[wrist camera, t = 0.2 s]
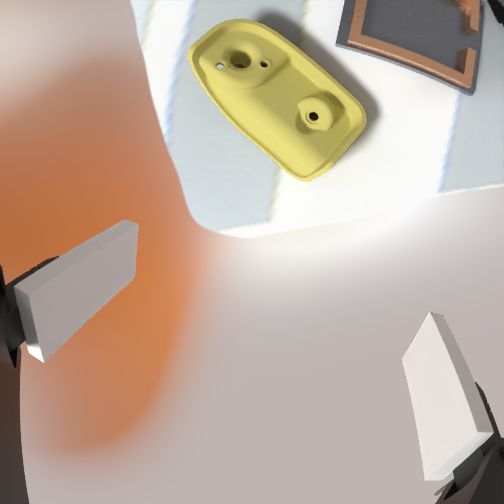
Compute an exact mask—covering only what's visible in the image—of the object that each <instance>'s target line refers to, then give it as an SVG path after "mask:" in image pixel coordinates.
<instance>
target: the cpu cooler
mask: <svg viewBox="0 0 504 504" xmlns="http://www.w3.org/2000/svg"><path fill="white" fill-rule="evenodd" d="M487 2H489V3H488V4H490V5H491V8H492V11H493V13H494V16H497V18H496V19H498V20H497V21H499V23H503V26H504V0H487Z"/></svg>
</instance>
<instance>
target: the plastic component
mask: <svg viewBox="0 0 504 504" xmlns="http://www.w3.org/2000/svg"><path fill="white" fill-rule="evenodd" d="M188 59H189V62H190V65H191V67H192V69H193V71H194V73H195V75H196V77H197V79H198V80H199V82H200V84H201V85H202V87H203V88H204V90H205V91H206V93H207V94H208V96H209V97H210V98H211V100H212V101H213V102H214V104H215V105H216V106H217V107H218V108H219V110H220V111H221V112H222V113H223V114H224V115H225V116H226V118H227V119H228V120H229V121H230V122H231V123H232V124H233V125H234V126H235V127H236V128H237V129H238V130H240V131H241V132H242V133H243V134H244V135H245V136H246V137H247V138H249V139H250V140H251V141H252V142H253V143H254V144H256V145H257V146H258V147H259V148H260V149H261V150H262V151H264V152H265V153H266V154H267V155H268V156H269V157H270V158H272V159H273V160H274V161H275V162H276V163H277V164H278V165H280V166H281V167H282V168H283V169H284V170H285V171H286V172H287V173H288V174H290V175H291V176H293V177H294V178H296V179H298V180H301V181H305V182H308V181H311V180H313V179H315V178H317V177H318V176H320V175H322V174H324V173H326V172H327V171H328V170H329V169H331V168H332V167H333V166H334V165H335V163H336V162H337V161H338V160H339V159H340V157H341V156H342V155H343V154H344V153H345V151H346V150H347V149H348V148H349V147H350V145H351V144H352V143H353V142H354V141H355V139H356V138H357V137H358V136H359V135H360V133H361V132H362V131H363V130H364V128H365V126H366V121H367V118H366V113H365V110H364V108H363V106H362V105H361V103H360V102H359V101H358V100H357V99H356V98H355V97H354V96H353V95H352V94H351V93H350V92H348V91H347V90H346V89H345V88H344V87H343V86H342V85H341V84H340V83H339V82H338V81H337V80H335V79H334V78H333V77H332V76H331V75H330V74H329V73H328V72H326V71H325V70H324V69H323V68H322V67H321V66H319V65H318V64H317V63H316V62H315V61H314V60H312V59H311V58H310V57H309V56H308V55H306V54H305V53H304V52H303V51H301V50H300V49H299V48H298V47H296V46H295V45H294V44H293V43H291V42H290V41H289V40H287V39H286V38H284V37H283V36H282V35H280V34H279V33H277V32H276V31H274V30H273V29H271V28H269V27H268V26H266V25H264V24H261V23H259V22H256V21H253V20H248V19H233V20H228V21H225V22H222V23H220V24H218V25H216V26H215V27H213V28H212V29H210V30H209V31H208V32H207V33H206V34H204V35H203V36H202V37H201V38H200V39H199V40H197V41H196V42H195V43H194V44H193V45H192V46H191V47H190V48H189V51H188ZM261 63H265V64H266V65H267V67H262V66H261V65H260V64H261ZM219 64H222V65H223V66H224V68H222V69H219V68H217V67H216V66H217V65H219ZM234 64H241V65H243V66H245V67H246V68H237V67H235V66H233V65H234ZM310 112H315V113H317V114H318V117H319V118H318V119H317V120H312V119H311V118H310Z"/></svg>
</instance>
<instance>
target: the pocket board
mask: <svg viewBox="0 0 504 504" xmlns="http://www.w3.org/2000/svg"><path fill="white" fill-rule="evenodd" d="M482 11H483V7H481V6H480V0H345V2H344V7H343V12H342V17H341V21H340V26H339V31H338V35H337V40H336V45H335V46H337V47H341V48H345V49H348V50H352V51H356V52H359V53H362V54H366V55H369V56H372V57H375V58H378V59H381V60H384V61H387V62H390V63H393V64H396V65H399V66H401V67H404V68H407V69H409V70H412V71H415V72H417V73H420V74H422V75H425V76H427V77H429V78H432V79H434V80H436V81H439V82H441V83H443V84H445V85H448V86H450V87H452V88H454V89H456V90H458V91H460V92H462V93H464V94H466V95H468V96H471V95H473V92H474V86H475V80H476V73H477V66H478V58H479V50H480V40H481V28H482Z"/></svg>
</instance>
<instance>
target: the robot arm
mask: <svg viewBox="0 0 504 504" xmlns="http://www.w3.org/2000/svg"><path fill="white" fill-rule="evenodd" d="M138 228H139V224H137V223H134V222H131V221H128V220H123V221H121V222H119V223H117V224H116V225H114V226H112V227H110V228H108V229H107V230H105V231H103V232H101V233H99V234H98V235H96V236H94V237H92V238H91V239H89V240H87V241H86V242H84V243H82V244H80V245H79V246H77V247H75V248H74V249H72V250H70V251H69V252H67V253H65V254H64V255H62V256H60V257H59V256H57V257H53V258H50V259H47V260H45V261H43V262H42V263H40V264H38V265H37V267H33V268H32V269H30V271H27V272H25V273H24V274H22V275H21V276H19V277H18V278H16V279H14V280H13V281H11V282H10V283H8V284H7V285H5V281H4V276H3V270H2V266H1V265H0V504H29V499H28V494H27V488H26V481H25V474H24V466H23V457H22V446H21V432H20V366H21V348H20V345H21V344H22V343H23V342H24V341H25V340H26V344H27V347H28V351H29V353H30V354H32V355H33V356H35V357H36V358H38V359H39V360H41V361H42V362H45V361H46V360H47V359H48V358H49V357H50V356H51V355H52V354H53V353H54V352H55V351H56V350H57V349H58V348H59V347H60V346H62V345H63V344H64V343H65V342H66V340H68V339H69V338H70V337H71V336H72V335H73V334H74V333H75V332H76V331H77V330H78V329H79V328H80V327H82V326H83V324H85V323H86V322H87V321H88V320H89V319H90V318H91V317H92V316H93V315H94V314H95V313H97V312H98V311H99V310H100V309H101V308H102V307H103V306H104V305H105V304H106V303H108V302H109V301H110V300H111V299H112V298H113V297H114V296H115V295H116V294H117V293H119V292H120V291H121V290H122V289H123V288H124V287H125V286H126V285H128V284H129V283H130V282H131V281H132V280H133V279H134V278H135V267H136V252H137V239H138ZM402 361H403V365H404V369H405V374H406V378H407V382H408V386H409V391H410V396H411V400H412V405H413V410H414V415H415V421H416V426H417V431H418V437H419V443H420V448H421V456H422V462H423V470H424V477H425V480H442V479H444V478H445V477H446V476H447V475H449V474H450V473H451V472H452V471H453V474H454V479H453V480H452V481H450V482H449V483H448V484H446V485H445V486H444V487H442V488H441V489H440V490H438V491H437V492H436V493H435V495H436V496H437V495H438V494H440V493H441V492H443V493H442V494H441V496H440V498H439V499H438V501H437V502H436V504H504V438H501V436H500V433H499V431H498V428H497V425H496V422H495V420H494V417H493V414H492V412H491V411H490V407H489V404H488V403H487V399H486V397H485V394H484V392H483V390H482V389H481V388H480V387H479V385H478V384H477V383H476V382H474V379H473V377H472V375H471V373H470V370H469V368H468V366H467V364H466V361H465V359H464V357H463V355H462V353H461V351H460V349H459V346H458V344H457V342H456V340H455V338H454V336H453V334H452V332H451V330H450V328H449V326H448V324H447V322H446V320H445V318H444V317H443V315H440V314H436V313H433V312H429V314H428V315H427V317H426V319H425V321H424V323H423V324H422V326H421V328H420V330H419V332H418V333H417V335H416V337H415V338H414V340H413V342H412V343H411V345H410V347H409V349H408V350H407V352H406V353H405V355H404V357H403V358H402Z"/></svg>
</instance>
